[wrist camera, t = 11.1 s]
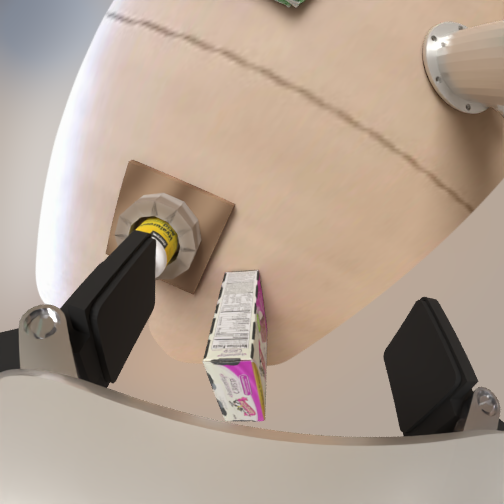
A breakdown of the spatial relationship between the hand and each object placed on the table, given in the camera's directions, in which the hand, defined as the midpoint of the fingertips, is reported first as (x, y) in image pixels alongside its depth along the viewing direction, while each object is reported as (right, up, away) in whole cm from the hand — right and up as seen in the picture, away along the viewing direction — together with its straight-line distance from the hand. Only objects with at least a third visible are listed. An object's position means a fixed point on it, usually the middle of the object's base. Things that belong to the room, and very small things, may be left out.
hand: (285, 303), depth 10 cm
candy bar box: (-2, -5, +32) cm, 33 cm away
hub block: (-12, +5, +28) cm, 31 cm away
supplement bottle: (-12, +4, +27) cm, 30 cm away
